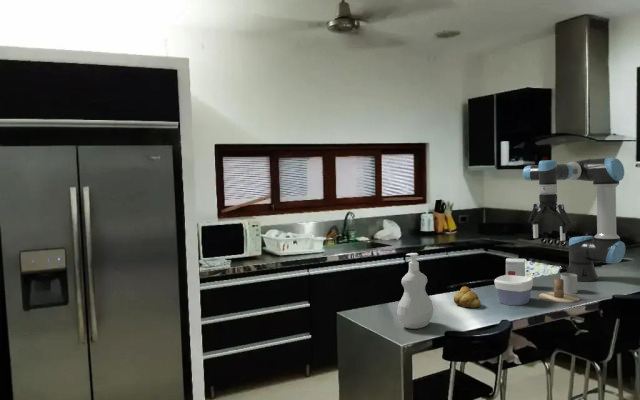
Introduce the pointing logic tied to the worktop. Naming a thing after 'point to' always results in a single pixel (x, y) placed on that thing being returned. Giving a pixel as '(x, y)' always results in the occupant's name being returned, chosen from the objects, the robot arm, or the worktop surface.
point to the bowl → (513, 289)
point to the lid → (559, 294)
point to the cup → (569, 283)
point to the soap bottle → (414, 298)
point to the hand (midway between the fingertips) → (548, 239)
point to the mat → (582, 300)
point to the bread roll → (466, 298)
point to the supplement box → (515, 267)
